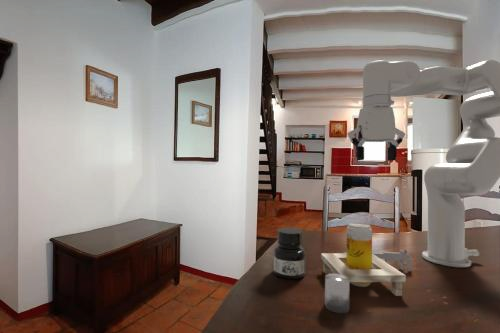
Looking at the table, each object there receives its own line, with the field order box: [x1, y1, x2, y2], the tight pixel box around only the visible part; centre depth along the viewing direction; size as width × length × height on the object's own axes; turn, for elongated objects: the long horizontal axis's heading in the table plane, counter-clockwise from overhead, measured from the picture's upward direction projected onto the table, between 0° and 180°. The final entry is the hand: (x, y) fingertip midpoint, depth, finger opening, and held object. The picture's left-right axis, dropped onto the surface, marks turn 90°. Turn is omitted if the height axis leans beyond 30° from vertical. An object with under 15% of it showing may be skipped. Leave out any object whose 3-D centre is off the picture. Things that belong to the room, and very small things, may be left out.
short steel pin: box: [324, 273, 350, 314], centre depth 54 cm, size 5×5×6 cm
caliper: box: [343, 249, 412, 272], centre depth 80 cm, size 20×1×6 cm, turn 44°
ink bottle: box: [273, 227, 307, 280], centre depth 70 cm, size 10×9×12 cm
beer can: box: [346, 222, 373, 288], centre depth 65 cm, size 6×6×15 cm
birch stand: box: [320, 252, 407, 297], centre depth 65 cm, size 15×15×5 cm
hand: (376, 160), depth 75 cm, fingers open, 9 cm apart
